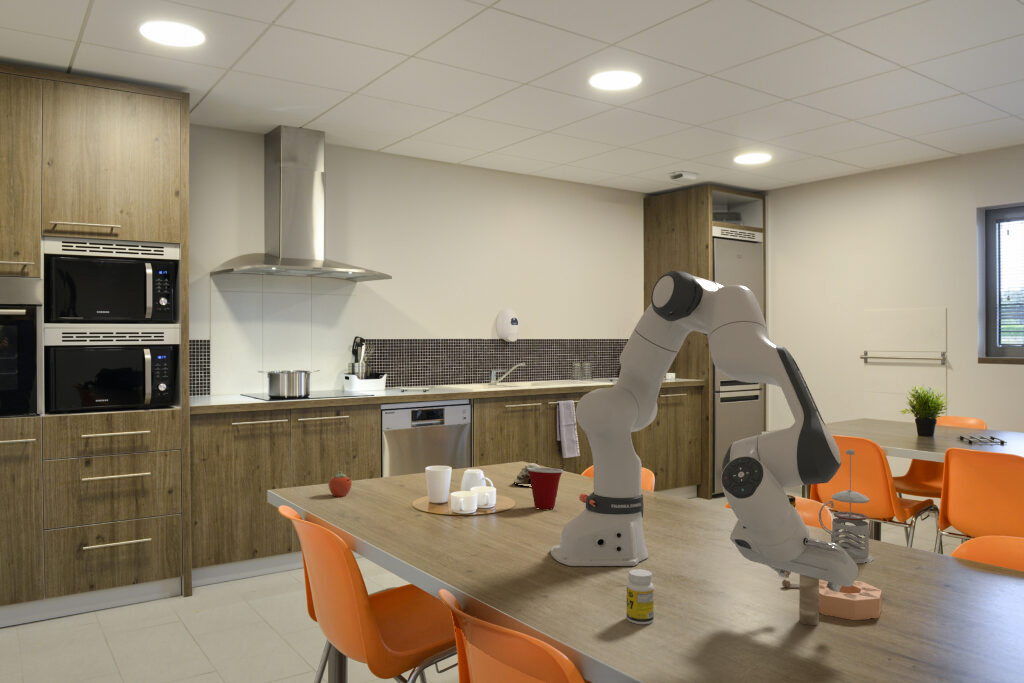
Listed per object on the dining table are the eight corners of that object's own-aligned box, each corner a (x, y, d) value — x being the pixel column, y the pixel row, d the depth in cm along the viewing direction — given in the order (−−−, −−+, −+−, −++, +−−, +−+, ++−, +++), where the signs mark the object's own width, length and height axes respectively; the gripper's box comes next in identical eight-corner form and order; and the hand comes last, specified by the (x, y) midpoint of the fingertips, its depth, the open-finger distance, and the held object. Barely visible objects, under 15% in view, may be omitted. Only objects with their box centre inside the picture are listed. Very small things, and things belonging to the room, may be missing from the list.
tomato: (348, 498, 229) (349, 472, 229) (325, 498, 229) (325, 472, 229) (354, 493, 236) (354, 469, 237) (331, 493, 237) (331, 468, 237)
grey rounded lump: (510, 485, 248) (512, 460, 255) (513, 501, 255) (515, 476, 262) (545, 485, 246) (546, 459, 253) (547, 500, 254) (548, 475, 261)
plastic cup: (569, 506, 219) (569, 467, 219) (551, 513, 210) (552, 472, 210) (538, 502, 225) (538, 463, 225) (520, 508, 216) (520, 468, 216)
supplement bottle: (623, 615, 130) (623, 568, 130) (649, 614, 130) (649, 568, 131) (630, 625, 125) (630, 576, 125) (656, 624, 126) (657, 576, 126)
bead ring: (836, 621, 128) (836, 601, 128) (793, 598, 140) (793, 579, 140) (896, 616, 130) (896, 596, 130) (849, 593, 143) (849, 575, 143)
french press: (871, 565, 161) (871, 453, 162) (815, 557, 167) (815, 449, 168) (875, 555, 170) (876, 448, 170) (822, 547, 176) (822, 444, 176)
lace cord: (783, 588, 145) (783, 580, 145) (780, 586, 147) (780, 578, 147) (872, 590, 145) (872, 582, 145) (868, 587, 146) (868, 579, 146)
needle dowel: (806, 625, 126) (807, 550, 126) (795, 618, 129) (795, 545, 129) (823, 624, 126) (823, 549, 127) (811, 617, 130) (811, 544, 130)
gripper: (847, 531, 115) (876, 580, 121) (736, 508, 131) (766, 553, 137) (832, 564, 112) (863, 613, 118) (721, 536, 129) (753, 581, 134)
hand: (810, 580), depth 128 cm, fingers open, 8 cm apart
